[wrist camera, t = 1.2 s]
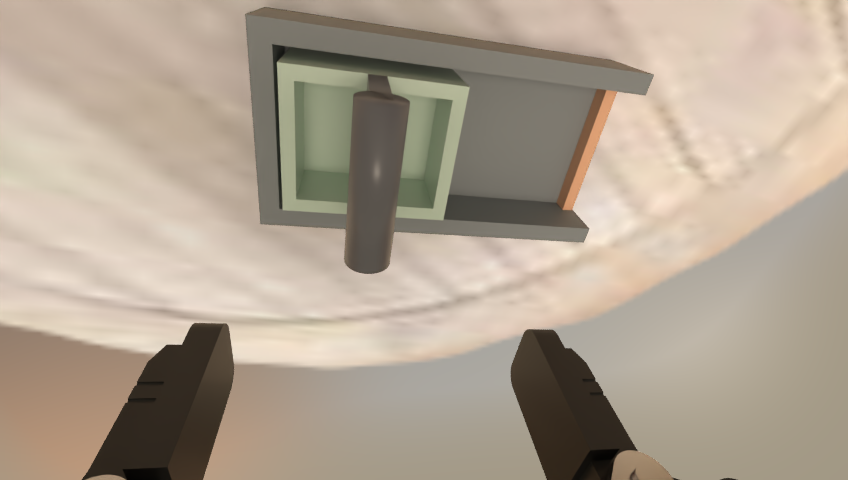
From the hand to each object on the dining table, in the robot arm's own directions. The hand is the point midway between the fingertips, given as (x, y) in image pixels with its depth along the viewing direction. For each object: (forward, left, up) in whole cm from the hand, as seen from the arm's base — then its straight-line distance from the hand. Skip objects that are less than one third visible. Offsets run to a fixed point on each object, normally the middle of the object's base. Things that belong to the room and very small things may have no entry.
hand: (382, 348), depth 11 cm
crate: (0, 0, -20) cm, 20 cm away
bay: (0, +5, -21) cm, 22 cm away
